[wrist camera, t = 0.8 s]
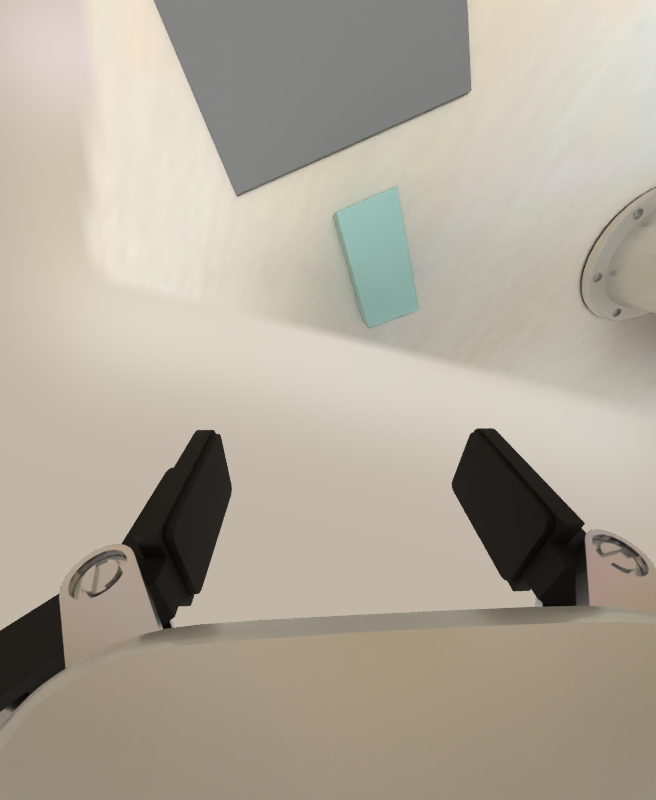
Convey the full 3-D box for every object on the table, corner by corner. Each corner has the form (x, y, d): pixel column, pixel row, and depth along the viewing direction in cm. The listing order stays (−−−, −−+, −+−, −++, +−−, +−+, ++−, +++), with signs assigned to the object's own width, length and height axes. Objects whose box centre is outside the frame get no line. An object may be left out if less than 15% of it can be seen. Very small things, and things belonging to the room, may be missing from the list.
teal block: (384, 193, 25) (397, 186, 21) (405, 301, 30) (418, 310, 26) (332, 215, 25) (336, 211, 22) (361, 318, 30) (368, 328, 27)
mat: (452, -197, 15) (457, -212, 15) (467, 93, 21) (471, 90, 21) (147, -20, 18) (142, -28, 17) (237, 196, 24) (236, 195, 23)
